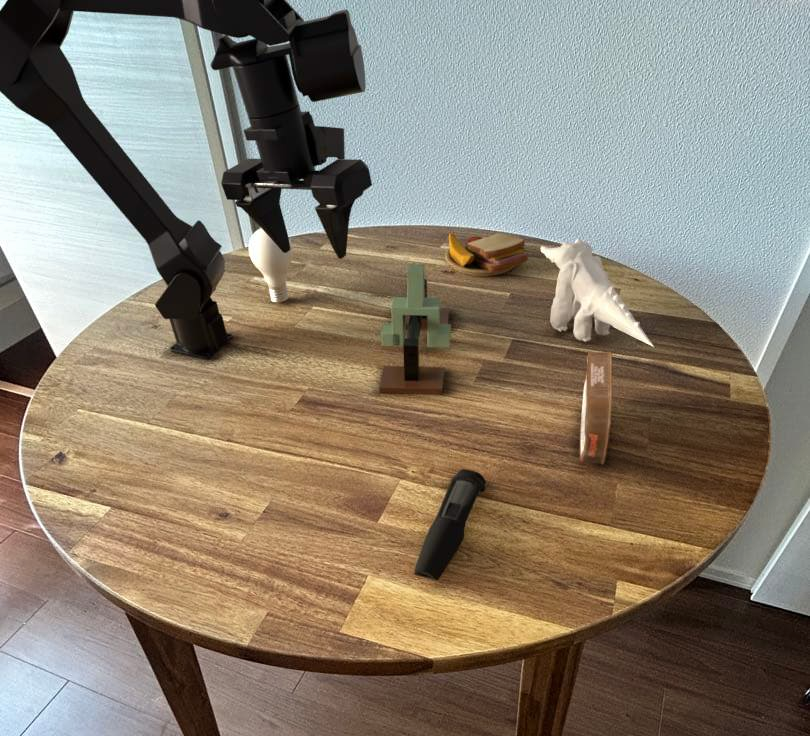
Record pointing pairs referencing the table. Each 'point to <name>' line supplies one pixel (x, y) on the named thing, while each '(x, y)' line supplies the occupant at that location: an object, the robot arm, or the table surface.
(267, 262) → the lightbulb
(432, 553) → the electric trimmer
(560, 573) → the table surface
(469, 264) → the toy sandwich meal
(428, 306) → the green stepped block figure
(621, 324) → the toy dinosaur
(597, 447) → the brown product box
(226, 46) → the robot arm
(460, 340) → the table surface
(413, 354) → the toy hurdle
